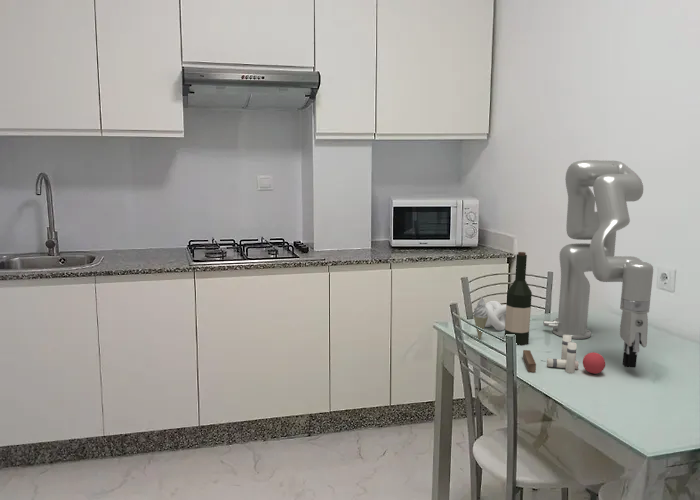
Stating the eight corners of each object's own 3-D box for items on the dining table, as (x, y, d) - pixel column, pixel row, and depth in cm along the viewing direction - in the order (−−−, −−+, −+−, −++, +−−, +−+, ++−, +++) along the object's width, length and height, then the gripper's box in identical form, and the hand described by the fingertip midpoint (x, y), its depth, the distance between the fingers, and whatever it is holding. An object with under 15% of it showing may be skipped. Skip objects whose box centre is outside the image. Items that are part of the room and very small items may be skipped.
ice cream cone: (488, 337, 203) (490, 294, 200) (486, 342, 198) (488, 298, 196) (473, 336, 205) (475, 293, 202) (470, 340, 200) (473, 296, 197)
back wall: (528, 372, 172) (528, 363, 172) (522, 357, 184) (523, 350, 184) (535, 372, 172) (536, 364, 172) (529, 358, 184) (530, 350, 183)
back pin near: (566, 373, 172) (568, 344, 171) (564, 369, 175) (566, 341, 173) (575, 373, 172) (577, 345, 170) (573, 370, 174) (575, 342, 173)
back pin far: (561, 364, 179) (563, 336, 178) (560, 361, 181) (562, 334, 180) (570, 364, 179) (572, 337, 177) (568, 362, 181) (570, 334, 180)
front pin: (577, 370, 175) (546, 368, 177) (576, 363, 177) (546, 360, 179) (578, 366, 173) (548, 364, 175) (578, 359, 175) (547, 356, 177)
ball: (594, 362, 167) (612, 367, 168) (587, 346, 172) (605, 350, 173) (581, 375, 171) (599, 379, 172) (575, 358, 175) (593, 363, 177)
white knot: (505, 322, 222) (506, 298, 220) (518, 332, 210) (520, 307, 208) (476, 323, 220) (477, 299, 219) (487, 333, 209) (489, 308, 207)
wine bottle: (500, 337, 204) (505, 250, 198) (523, 337, 204) (529, 250, 199) (508, 345, 195) (513, 254, 190) (533, 345, 196) (539, 254, 191)
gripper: (658, 312, 163) (651, 376, 166) (640, 299, 178) (634, 358, 181) (629, 311, 164) (622, 375, 167) (613, 297, 179) (608, 356, 182)
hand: (629, 366), depth 174 cm, fingers closed
